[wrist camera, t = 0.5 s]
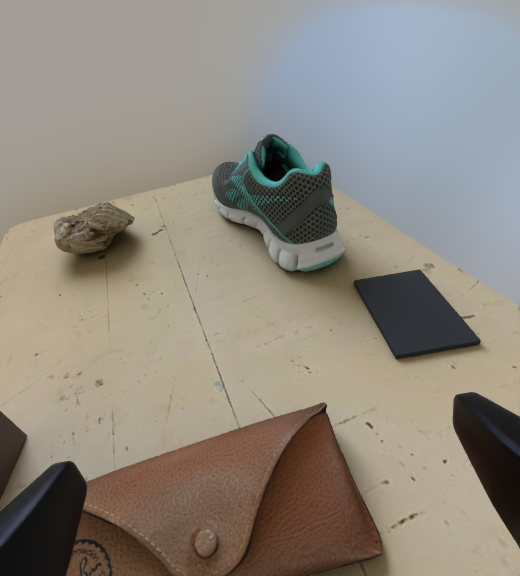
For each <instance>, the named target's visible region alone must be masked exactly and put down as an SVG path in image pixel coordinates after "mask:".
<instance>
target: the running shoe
mask: <svg viewBox="0 0 520 576" xmlns="http://www.w3.org/2000/svg"><path fill="white" fill-rule="evenodd" d="M330 171H331V170H330V167H329V165H328V164H326V163H325V162H323V161H322V162H320V163H318V164H316V165H315V166H314V168H313V170H312V171H311V170H310V169H309V167H308V166H307V165H306V164H305V163H304V161H303V160H302V158H301V156H300V154H299V152H298V151H297V150H296V149H295V148H294V147H293V146H292V145H291V144H290V143H287V142H286V141H284V140H283V139H282V138H280V137H279V136H277V135H275V134H269V135H266V136H265V137H263V138H262V139H261V140H260V141H259V142H258V144H257V146H256V149H255V150H254V151H249V153H248V154H247V155H246V156H245V158H244V159H243V161H242V162H240V163H235V162H226V163H222V164H220V165H219V166H218V167H217V168H216V169H215V171H214V173H213V177H212V186H213V191H214V198H215V202H216V205H217V207H218V209H219V210H220V212H221V214H222V215H223V216H224V217H225V218H228V219H230V220H231V221H234V222H237V223H240V224H246V225H248V226H250V227H253V228H256V229H259V230H260V231H261V233H262V234H263V238H264V241H265V243H266V246H267V248H269V254H270V256H271V258H272V259H273V261H274V262H276V263H279V265H280V266H281V267H282V268H284V269H286V270H288V271H291V272H293V271H296V270H300V271H305V272H306V271H312V270H316V269H319V268H322V267H325V266H327V265H330V264H332V263H333V262H335V261H336V260H338V259H339V258H340V257H341V256H342V255H343V252H344V251H345V248H344V245H343V244H342V243H341V241H340V240H339V238H338V231H337V230H336V228H337V215H336V211H335V207H334V202H333V194H332V187H331V172H330Z"/></svg>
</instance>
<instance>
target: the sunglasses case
mask: <svg viewBox="0 0 520 576" xmlns="http://www.w3.org/2000/svg"><path fill="white" fill-rule="evenodd" d="M326 408H327V405H326V403H320V404H318V405H315V406H313V407H309V408H306V409H303V410H299V411H296V412H292V413H288V414H285V415H281V416H277V417H274V418H271V419H267V420H265V421H261V422H258V423H255V424H252V425H249V426H245V427H243V428H239V429H236V430H233V431H230V432H227V433H224V434H221V435H218V436H216V437H213V438H209V439H206V440H203V441H201V442H197V443H195V444H192V445H188V446H186V447H183V448H180V449H177V450H174V451H171V452H168V453H165V454H162V455H160V456H156V457H153V458H150V459H147V460H144V461H142V462H139V463H136V464H134V465H130V466H128V467H125V468H121V469H119V470H117V471H114V472H111V473H109V474H106V475H103V476H101V477H98V478H96V479H93V480H90V481H88V482H86V483H87V495H86V499H85V503H84V508H83V512H82V516H81V520H80V524H79V528H78V532H77V536H76V540H75V545H74V549H73V553H72V556H71V560H70V564H69V567H68V571H67V574H66V576H310V575H312V574H315V573H319V572H323V571H326V570H330V569H332V568H337V567H342V566H345V565H349V564H353V563H357V562H361V561H365V560H370V559H373V558H375V557H377V556H379V555H381V554H382V541H381V537H380V534H379V532H378V529H377V527H376V525H375V523H374V521H373V519H372V517H371V515H370V513H369V511H368V508H367V506H366V504H365V502H364V500H363V498H362V496H361V495H360V493H359V491H358V489H357V486H356V484H355V482H354V479H353V477H352V475H351V472H350V470H349V468H348V466H347V463H346V461H345V458H344V456H343V454H342V452H341V450H340V448H339V445H338V443H337V440H336V438H335V434H334V432H333V428H332V426H331V423H330V420H329V417H328V415H327V413H326Z"/></svg>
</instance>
